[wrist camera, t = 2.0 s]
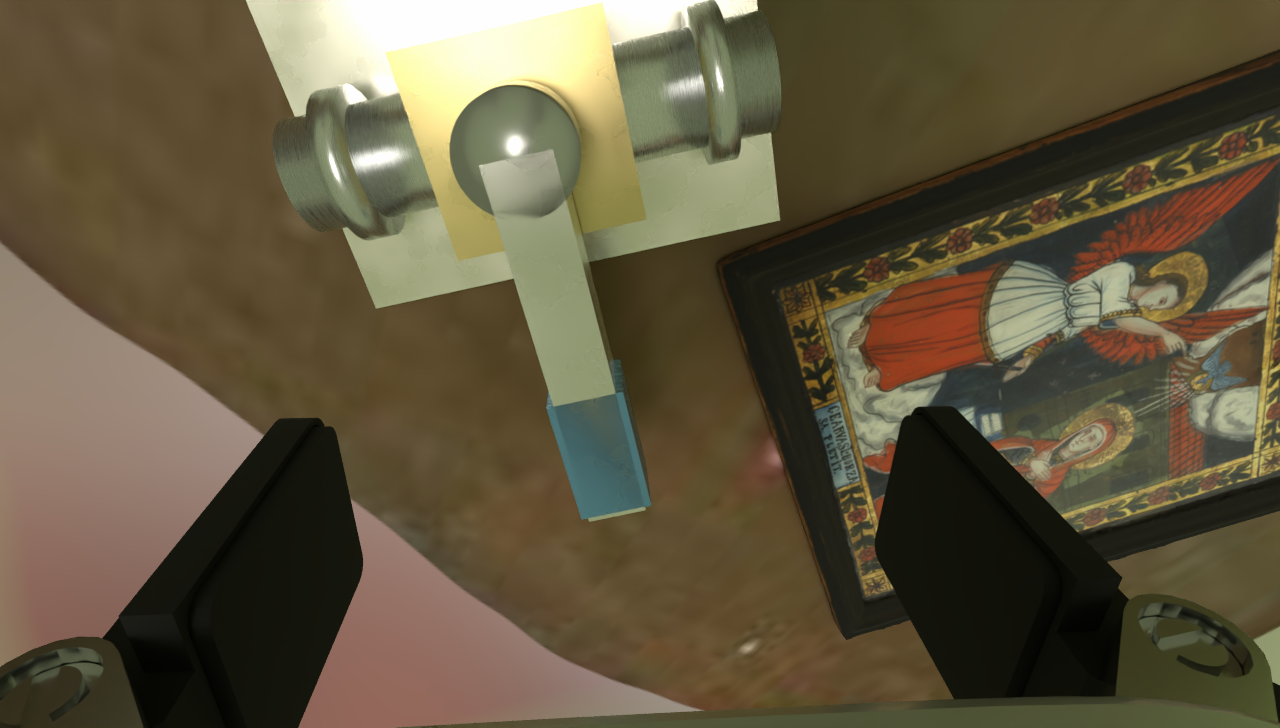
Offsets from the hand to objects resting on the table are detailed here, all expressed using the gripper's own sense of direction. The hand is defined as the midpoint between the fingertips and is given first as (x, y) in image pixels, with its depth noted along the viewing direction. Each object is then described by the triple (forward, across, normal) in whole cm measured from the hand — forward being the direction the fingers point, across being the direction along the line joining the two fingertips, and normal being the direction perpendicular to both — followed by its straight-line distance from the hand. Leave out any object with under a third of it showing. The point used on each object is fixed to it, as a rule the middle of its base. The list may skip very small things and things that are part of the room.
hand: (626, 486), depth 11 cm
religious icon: (+27, -28, +12) cm, 41 cm away
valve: (+26, +3, -5) cm, 26 cm away
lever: (+18, +1, +4) cm, 18 cm away
